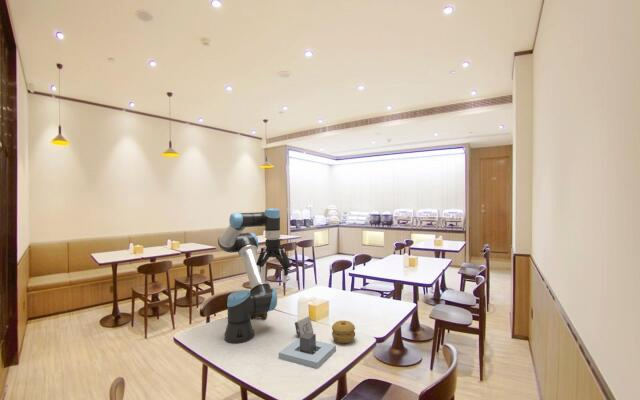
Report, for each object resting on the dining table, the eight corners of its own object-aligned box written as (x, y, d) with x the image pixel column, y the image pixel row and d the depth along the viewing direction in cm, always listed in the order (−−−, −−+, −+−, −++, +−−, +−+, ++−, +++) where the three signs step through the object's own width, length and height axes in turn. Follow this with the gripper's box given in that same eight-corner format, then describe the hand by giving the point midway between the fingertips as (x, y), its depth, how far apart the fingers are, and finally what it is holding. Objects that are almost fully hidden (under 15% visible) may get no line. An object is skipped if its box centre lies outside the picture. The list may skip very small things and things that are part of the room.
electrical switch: (302, 340, 156) (300, 321, 157) (294, 339, 160) (293, 320, 160) (314, 334, 164) (312, 316, 164) (306, 332, 167) (305, 315, 168)
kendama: (273, 312, 201) (263, 323, 181) (259, 312, 202) (247, 322, 182) (272, 302, 201) (262, 312, 181) (258, 302, 202) (247, 312, 183)
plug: (300, 355, 140) (299, 337, 140) (306, 350, 146) (306, 332, 146) (309, 358, 138) (309, 339, 138) (315, 352, 143) (315, 334, 143)
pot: (339, 348, 147) (338, 327, 147) (328, 338, 158) (327, 319, 158) (359, 343, 152) (359, 322, 152) (347, 334, 163) (347, 315, 163)
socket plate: (278, 358, 139) (278, 352, 139) (300, 342, 154) (300, 337, 154) (317, 368, 129) (317, 362, 129) (336, 350, 145) (335, 345, 145)
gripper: (249, 238, 159) (249, 279, 159) (289, 240, 147) (289, 284, 147) (258, 237, 166) (259, 276, 166) (297, 238, 154) (298, 281, 154)
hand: (273, 280), depth 156 cm, fingers open, 13 cm apart
